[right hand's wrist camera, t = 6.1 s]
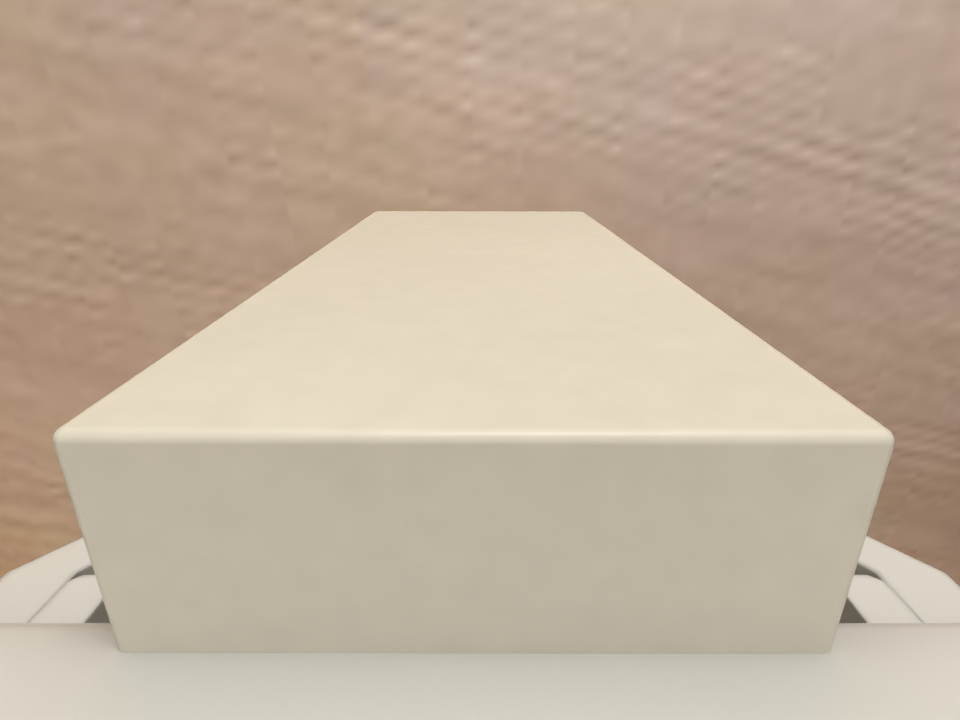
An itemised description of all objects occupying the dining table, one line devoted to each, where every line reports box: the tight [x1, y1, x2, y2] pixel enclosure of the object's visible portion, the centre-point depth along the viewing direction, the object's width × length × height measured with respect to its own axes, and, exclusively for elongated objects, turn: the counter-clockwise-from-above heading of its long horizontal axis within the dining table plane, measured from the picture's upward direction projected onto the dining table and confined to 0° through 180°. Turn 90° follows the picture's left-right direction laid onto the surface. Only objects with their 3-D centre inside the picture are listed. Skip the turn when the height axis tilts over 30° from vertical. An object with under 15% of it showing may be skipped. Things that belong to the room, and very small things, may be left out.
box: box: [53, 211, 895, 654], centre depth 14 cm, size 21×6×13 cm, turn 0°
